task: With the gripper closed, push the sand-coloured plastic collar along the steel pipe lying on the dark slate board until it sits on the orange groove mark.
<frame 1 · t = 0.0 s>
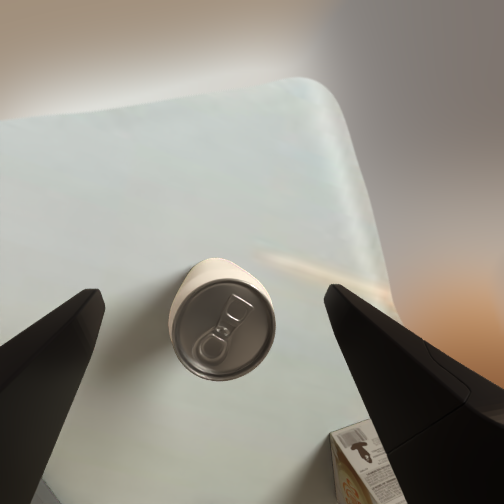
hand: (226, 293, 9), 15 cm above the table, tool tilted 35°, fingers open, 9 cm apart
can: (215, 286, 24), on the table
coffee box: (352, 455, 28), on the table
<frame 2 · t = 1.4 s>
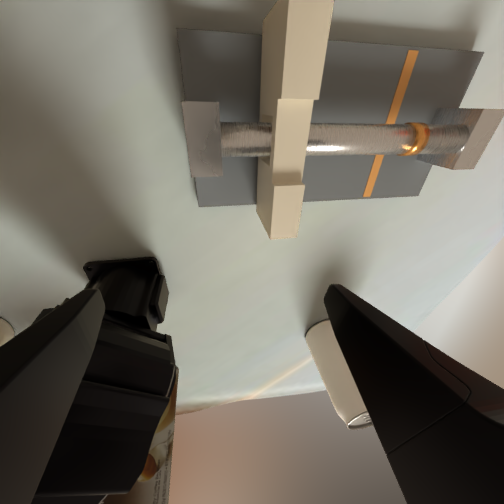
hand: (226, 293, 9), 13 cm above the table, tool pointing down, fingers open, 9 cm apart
rail board: (325, 133, 18), on the table
can: (323, 330, 35), on the table
coffee box: (146, 377, 33), on the table
collar: (281, 140, 14), point 4 cm above the table, slide at 0.0 cm
steel pipe: (342, 138, 16), on the rail board, point 3 cm above the table
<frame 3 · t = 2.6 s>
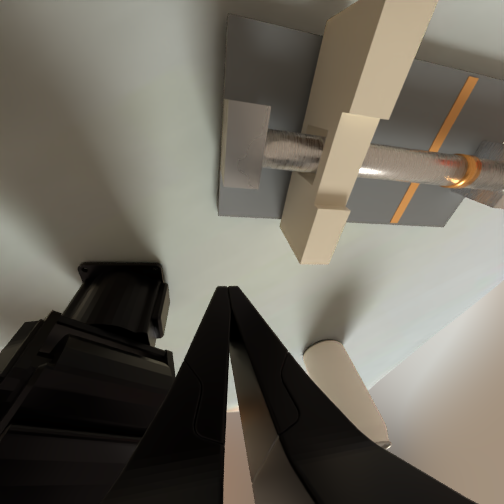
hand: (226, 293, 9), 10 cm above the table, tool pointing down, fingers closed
rail board: (363, 152, 17), on the table
can: (321, 349, 34), on the table
collar: (327, 157, 13), point 4 cm above the table, slide at 0.0 cm
steel pipe: (388, 161, 15), on the rail board, point 3 cm above the table
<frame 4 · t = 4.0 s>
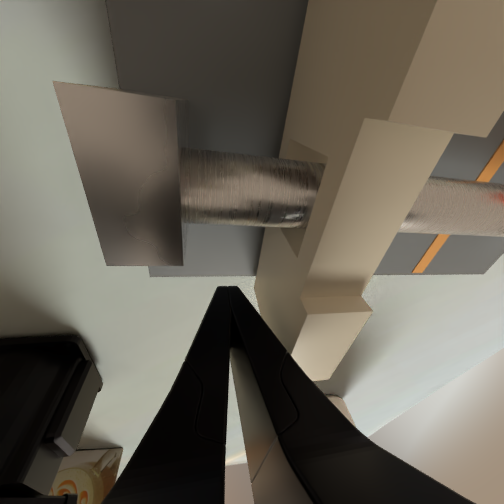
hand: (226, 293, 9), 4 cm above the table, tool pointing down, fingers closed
rail board: (377, 177, 11), on the table
coffee box: (76, 457, 25), on the table
collar: (326, 201, 7), point 4 cm above the table, slide at 0.3 cm, touching gripper
steel pipe: (423, 199, 9), on the rail board, point 3 cm above the table
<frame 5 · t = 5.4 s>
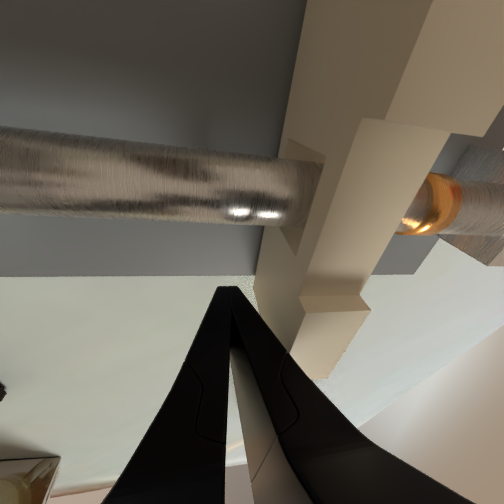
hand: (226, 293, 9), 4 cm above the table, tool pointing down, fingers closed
rail board: (260, 165, 10), on the table
coffee box: (11, 466, 23), on the table
collar: (325, 200, 7), point 4 cm above the table, slide at 6.3 cm, touching gripper
steel pipe: (277, 186, 7), on the rail board, point 3 cm above the table
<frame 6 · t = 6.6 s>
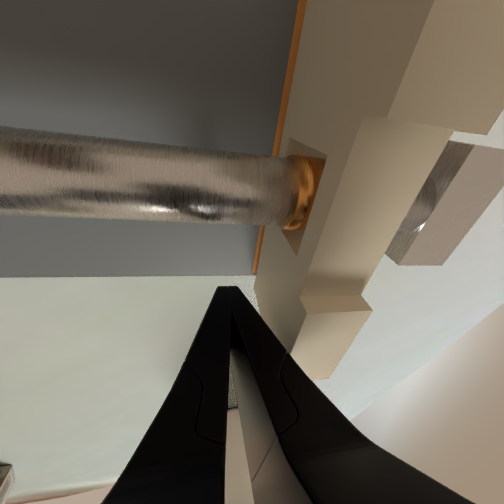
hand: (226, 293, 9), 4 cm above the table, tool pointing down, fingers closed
rail board: (151, 153, 9), on the table
can: (236, 415, 26), on the table
collar: (326, 199, 7), point 4 cm above the table, slide at 10.7 cm, touching gripper
steel pipe: (132, 173, 6), on the rail board, point 3 cm above the table
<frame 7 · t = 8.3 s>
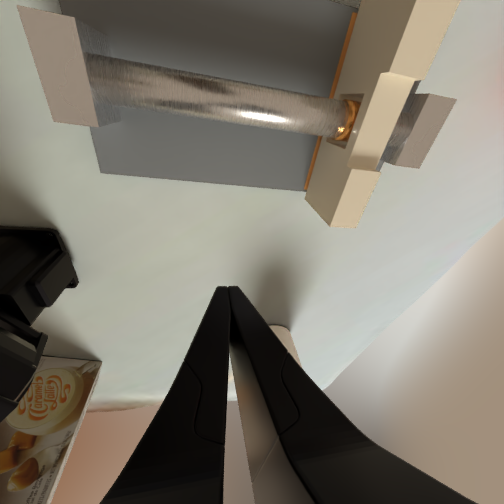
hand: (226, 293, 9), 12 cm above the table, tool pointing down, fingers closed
rail board: (259, 106, 16), on the table
can: (268, 335, 33), on the table
coffee box: (64, 367, 30), on the table
collar: (359, 123, 14), point 4 cm above the table, slide at 10.7 cm
steel pipe: (267, 108, 13), on the rail board, point 3 cm above the table
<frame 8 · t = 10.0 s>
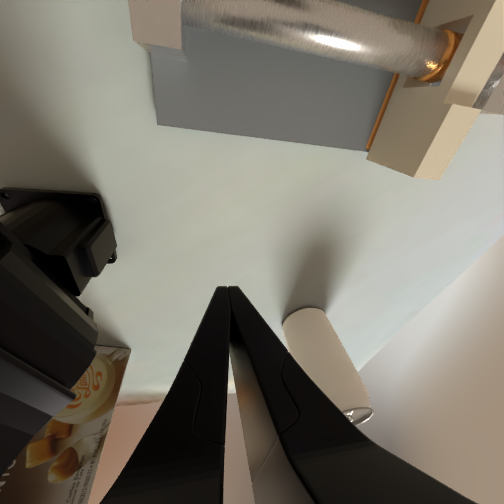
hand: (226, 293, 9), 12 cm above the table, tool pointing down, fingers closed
rail board: (329, 50, 14), on the table
can: (302, 319, 31), on the table
coffee box: (91, 356, 28), on the table
collar: (451, 59, 12), point 4 cm above the table, slide at 10.7 cm
steel pipe: (352, 41, 12), on the rail board, point 3 cm above the table
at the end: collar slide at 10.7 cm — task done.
